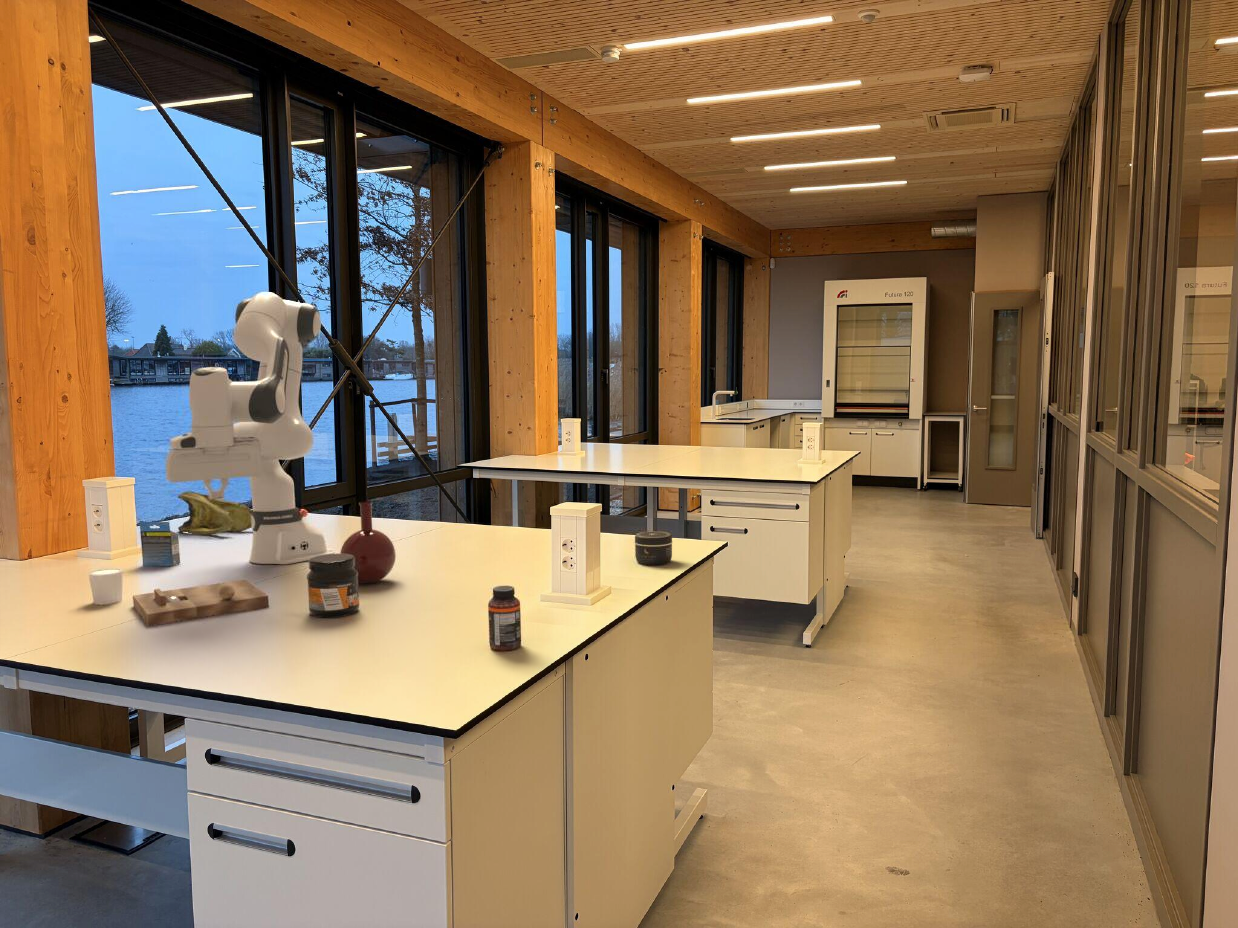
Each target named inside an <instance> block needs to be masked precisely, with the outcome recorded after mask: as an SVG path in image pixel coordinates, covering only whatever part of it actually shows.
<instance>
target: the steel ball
mask: <svg viewBox="0 0 1238 928" xmlns="http://www.w3.org/2000/svg"><path fill="white" fill-rule="evenodd" d="M176 601H180V599H179V598H178V597H174V596H173V597H169V598H168V599H167V600H166V603H169V602H176Z"/></svg>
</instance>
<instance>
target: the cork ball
mask: <svg viewBox="0 0 1238 928" xmlns="http://www.w3.org/2000/svg"><path fill="white" fill-rule="evenodd" d="M234 594H235V590H234V588H233V587H232V586H231V585H224V586H222V587H221V588H220V590H219V596H220V597H221V598H222V599H225V600H227V599H230V598H232V597H233V596H234Z"/></svg>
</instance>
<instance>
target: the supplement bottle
mask: <svg viewBox="0 0 1238 928" xmlns="http://www.w3.org/2000/svg"><path fill="white" fill-rule="evenodd" d="M515 594H516V592H515V587H514V586H512V585H497V586H495V587H493V588H492V597H491V599H489V601H488V603H487V609H488V616H487V617H488V638H489V639H488V640H489V641H488V643H489V647H490V648H491V649H492V650H494V651H499V652H506V651H507V652H509V651H514V650H516V649H519V648H520V647H521V645H522V622H521V621H522V620H521V618H522V617H521V601H520V599H519V598H518V597H515Z"/></svg>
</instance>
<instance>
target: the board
mask: <svg viewBox="0 0 1238 928" xmlns="http://www.w3.org/2000/svg"><path fill="white" fill-rule="evenodd" d="M224 585H231V586H232V587H233V588H234V590H235V594H234V596H233V597H232V598H230V599H227V600H225V599H222V598H221V597H220V596H219V590H220V588H221V587H222V586H224ZM153 591H154V592H147V593H142V594H134V595H132V604H133V605H132V606H133V607H135V608H134V609H135V610H136V612H137V613H138V615H139V616H140V615H141V616H142V617H141V616H140V617H141V619H143V621H144V622H145V623H146V625H147V624H148V625H147V626H148V627H151V626H150V625H152V626H155V625H154V624H159V625H162V624H161V623H165V624H170V623H169V622H171V623H174V622H173V621H177V622H181V621H180V620H183V621H186V620H185V619H190V620H194V619H193V618H196V619H201V617H202V618H206V617H205V616H208V617H213V616H212V615H214V616H219V614H221V615H225V614H224V613H227V614H232V612H233V613H238V612H244V611H243V610H245V611H251V610H257V609H263V608H269V607H270V605H269V603H270V602H269V600H270V599H269V595H268V594H267V593H265V592H263V591H262V590H261V589H260V588H258V587H257V586H255V585H254V584H252V583H251V582H250V581H248V580H247V579H239V580H232V581H226V582H218V583H213V584H205V585H204V584H203V585H197V586H192V587H191V586H190V587H184V588H177V589H176V588H175V589H168V590H161V589H160V588H155V589H154V590H153ZM173 596H174V597H178V598H179V599H180V601H176V602H169V603H166V600H167V599H168V598H169V597H173ZM250 609H251V610H250Z"/></svg>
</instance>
